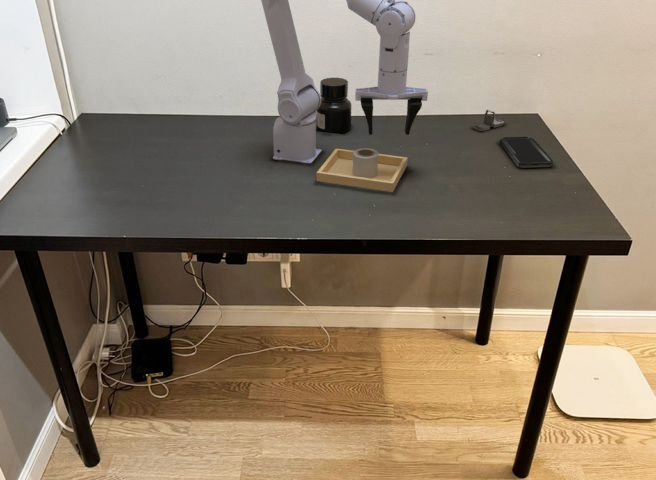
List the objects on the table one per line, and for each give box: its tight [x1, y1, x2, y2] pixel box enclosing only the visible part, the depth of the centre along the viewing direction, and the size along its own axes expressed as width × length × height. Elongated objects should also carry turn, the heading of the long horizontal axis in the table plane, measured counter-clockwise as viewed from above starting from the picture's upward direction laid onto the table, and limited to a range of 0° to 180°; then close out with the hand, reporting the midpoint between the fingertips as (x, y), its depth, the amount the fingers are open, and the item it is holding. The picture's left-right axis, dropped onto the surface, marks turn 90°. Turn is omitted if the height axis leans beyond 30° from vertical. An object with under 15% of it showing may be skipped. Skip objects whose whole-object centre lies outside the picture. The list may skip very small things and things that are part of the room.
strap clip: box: [472, 109, 505, 132], centre depth 163 cm, size 8×3×4 cm, turn 122°
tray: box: [316, 147, 408, 193], centre depth 141 cm, size 17×14×3 cm
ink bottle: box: [316, 77, 352, 135], centre depth 162 cm, size 10×9×12 cm
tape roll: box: [352, 147, 379, 178], centre depth 140 cm, size 5×5×5 cm
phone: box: [499, 136, 554, 169], centre depth 149 cm, size 8×1×15 cm
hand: (388, 132), depth 137 cm, fingers open, 7 cm apart
